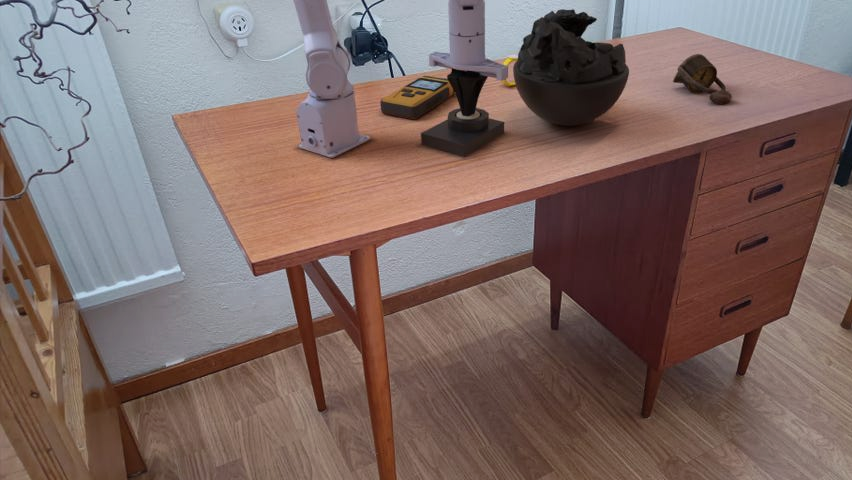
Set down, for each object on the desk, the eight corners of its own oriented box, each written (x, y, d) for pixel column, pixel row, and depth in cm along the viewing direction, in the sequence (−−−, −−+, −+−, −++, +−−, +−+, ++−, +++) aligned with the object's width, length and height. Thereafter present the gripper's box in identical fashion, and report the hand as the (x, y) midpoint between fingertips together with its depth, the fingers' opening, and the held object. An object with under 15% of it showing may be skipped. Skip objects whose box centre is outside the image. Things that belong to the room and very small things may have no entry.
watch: (506, 89, 134) (506, 60, 131) (497, 86, 136) (498, 57, 133) (528, 83, 137) (529, 55, 134) (519, 80, 139) (520, 52, 136)
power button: (471, 130, 111) (471, 120, 110) (452, 125, 112) (451, 115, 112) (484, 122, 113) (484, 112, 112) (465, 117, 115) (465, 108, 114)
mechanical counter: (723, 58, 134) (678, 47, 133) (747, 71, 123) (697, 59, 122) (710, 92, 138) (665, 82, 136) (732, 108, 126) (683, 97, 125)
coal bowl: (578, 96, 131) (586, -4, 120) (646, 129, 116) (661, 18, 106) (491, 114, 123) (492, 9, 112) (552, 152, 108) (559, 35, 98)
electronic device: (378, 115, 123) (376, 98, 121) (421, 89, 135) (419, 73, 133) (416, 122, 120) (415, 104, 118) (457, 95, 132) (456, 78, 130)
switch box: (464, 157, 107) (464, 134, 105) (421, 145, 111) (420, 122, 109) (504, 133, 115) (504, 111, 113) (462, 123, 119) (462, 101, 117)
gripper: (519, 33, 104) (516, 115, 111) (445, 20, 110) (448, 99, 118) (494, 43, 99) (494, 128, 106) (419, 29, 106) (423, 111, 113)
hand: (468, 114), depth 112 cm, fingers closed, pressing on power button
